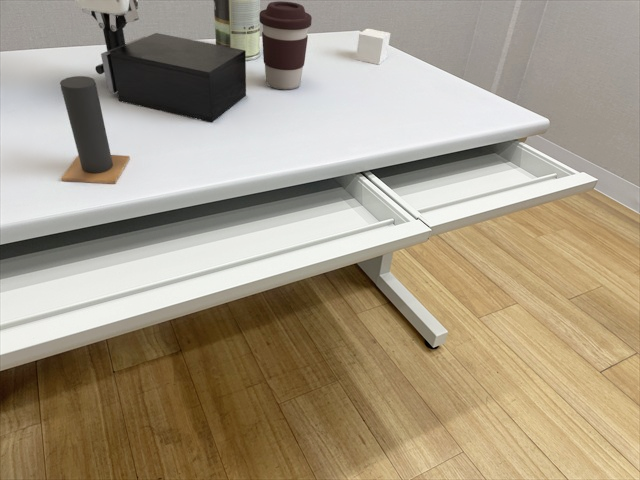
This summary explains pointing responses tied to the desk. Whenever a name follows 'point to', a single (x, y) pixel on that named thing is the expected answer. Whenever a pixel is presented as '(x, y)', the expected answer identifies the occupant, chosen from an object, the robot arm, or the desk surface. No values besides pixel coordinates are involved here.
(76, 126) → the canister
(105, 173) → the pad
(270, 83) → the coffee cup
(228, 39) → the coffee can
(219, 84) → the cabinet
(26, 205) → the desk surface
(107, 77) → the drawer
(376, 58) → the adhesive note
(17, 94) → the desk surface
